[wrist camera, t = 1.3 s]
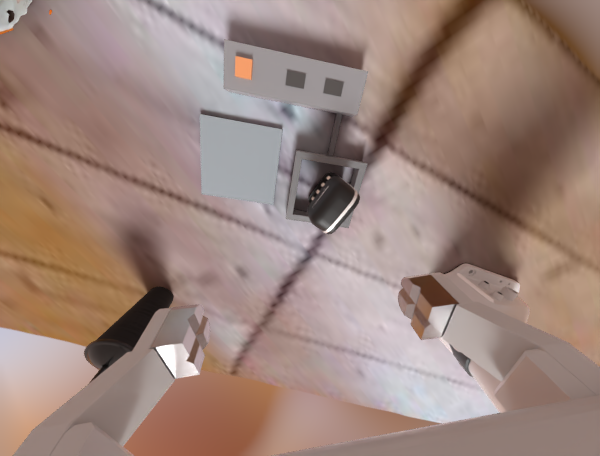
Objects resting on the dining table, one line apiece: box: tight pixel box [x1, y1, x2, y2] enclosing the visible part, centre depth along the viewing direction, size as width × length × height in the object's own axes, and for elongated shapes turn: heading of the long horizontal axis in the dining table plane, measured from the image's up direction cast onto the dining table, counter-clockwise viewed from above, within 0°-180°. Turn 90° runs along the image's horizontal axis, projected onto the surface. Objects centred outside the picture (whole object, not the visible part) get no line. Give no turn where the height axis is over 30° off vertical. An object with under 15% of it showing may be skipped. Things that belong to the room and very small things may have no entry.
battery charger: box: [307, 172, 360, 234], centre depth 31 cm, size 7×4×11 cm, turn 144°
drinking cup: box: [84, 287, 173, 382], centre depth 36 cm, size 8×8×20 cm
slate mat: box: [200, 114, 283, 205], centre depth 34 cm, size 12×12×1 cm
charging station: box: [224, 39, 368, 228], centre depth 32 cm, size 22×22×4 cm
